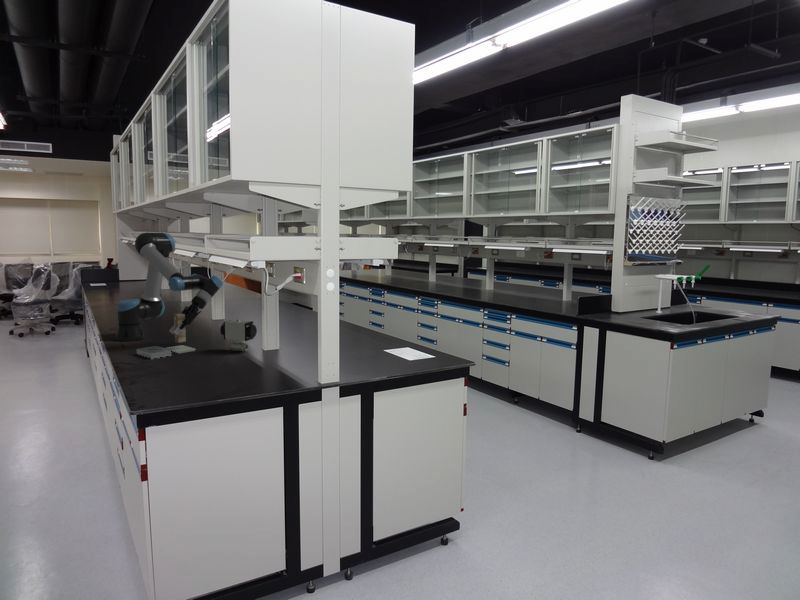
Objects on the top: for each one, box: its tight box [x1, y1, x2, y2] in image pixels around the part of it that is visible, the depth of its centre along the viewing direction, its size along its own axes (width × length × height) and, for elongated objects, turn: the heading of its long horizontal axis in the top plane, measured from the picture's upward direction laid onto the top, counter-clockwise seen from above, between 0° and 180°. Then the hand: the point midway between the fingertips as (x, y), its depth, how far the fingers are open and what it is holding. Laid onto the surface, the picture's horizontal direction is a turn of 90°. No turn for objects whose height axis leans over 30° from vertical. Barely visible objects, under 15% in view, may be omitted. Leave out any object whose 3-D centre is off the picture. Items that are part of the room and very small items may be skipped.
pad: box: [164, 344, 197, 354], centre depth 277 cm, size 14×10×1 cm
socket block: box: [136, 345, 172, 360], centre depth 264 cm, size 16×10×3 cm, turn 50°
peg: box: [173, 313, 187, 344], centre depth 276 cm, size 4×4×15 cm
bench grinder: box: [219, 317, 258, 352], centre depth 277 cm, size 18×8×18 cm, turn 76°
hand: (173, 333), depth 273 cm, fingers closed on peg, 4 cm apart
